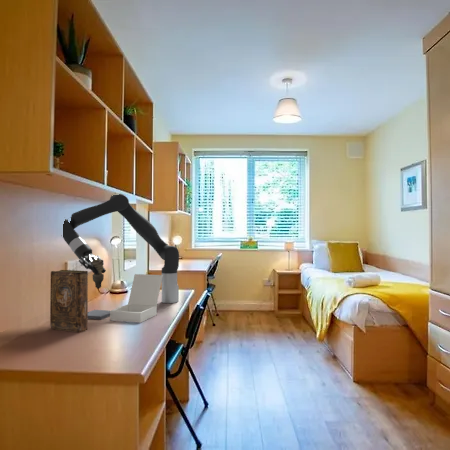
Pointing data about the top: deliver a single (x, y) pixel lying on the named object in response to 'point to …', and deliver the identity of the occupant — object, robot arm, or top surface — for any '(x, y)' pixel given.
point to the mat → (98, 314)
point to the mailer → (140, 300)
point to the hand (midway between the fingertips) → (100, 272)
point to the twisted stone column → (99, 277)
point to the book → (69, 300)
